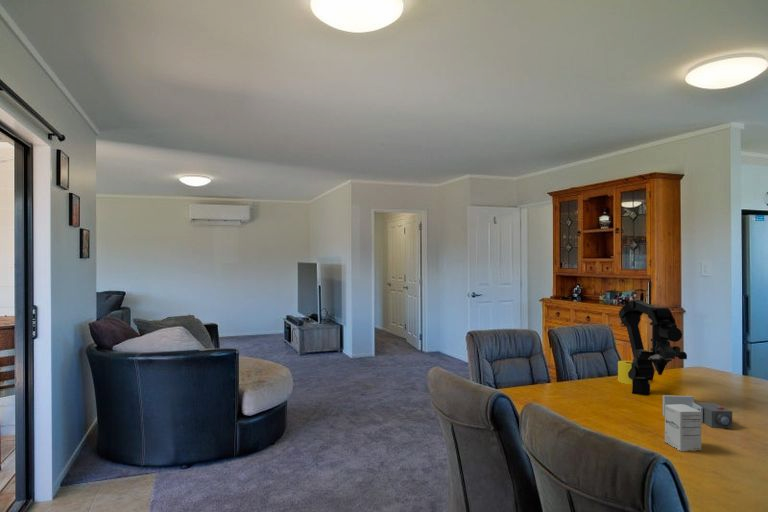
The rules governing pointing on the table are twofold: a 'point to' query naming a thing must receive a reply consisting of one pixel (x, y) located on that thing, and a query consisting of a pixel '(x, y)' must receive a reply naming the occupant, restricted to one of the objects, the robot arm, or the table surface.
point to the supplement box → (683, 427)
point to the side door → (681, 402)
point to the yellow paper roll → (624, 371)
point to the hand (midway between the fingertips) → (659, 374)
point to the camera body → (716, 415)
